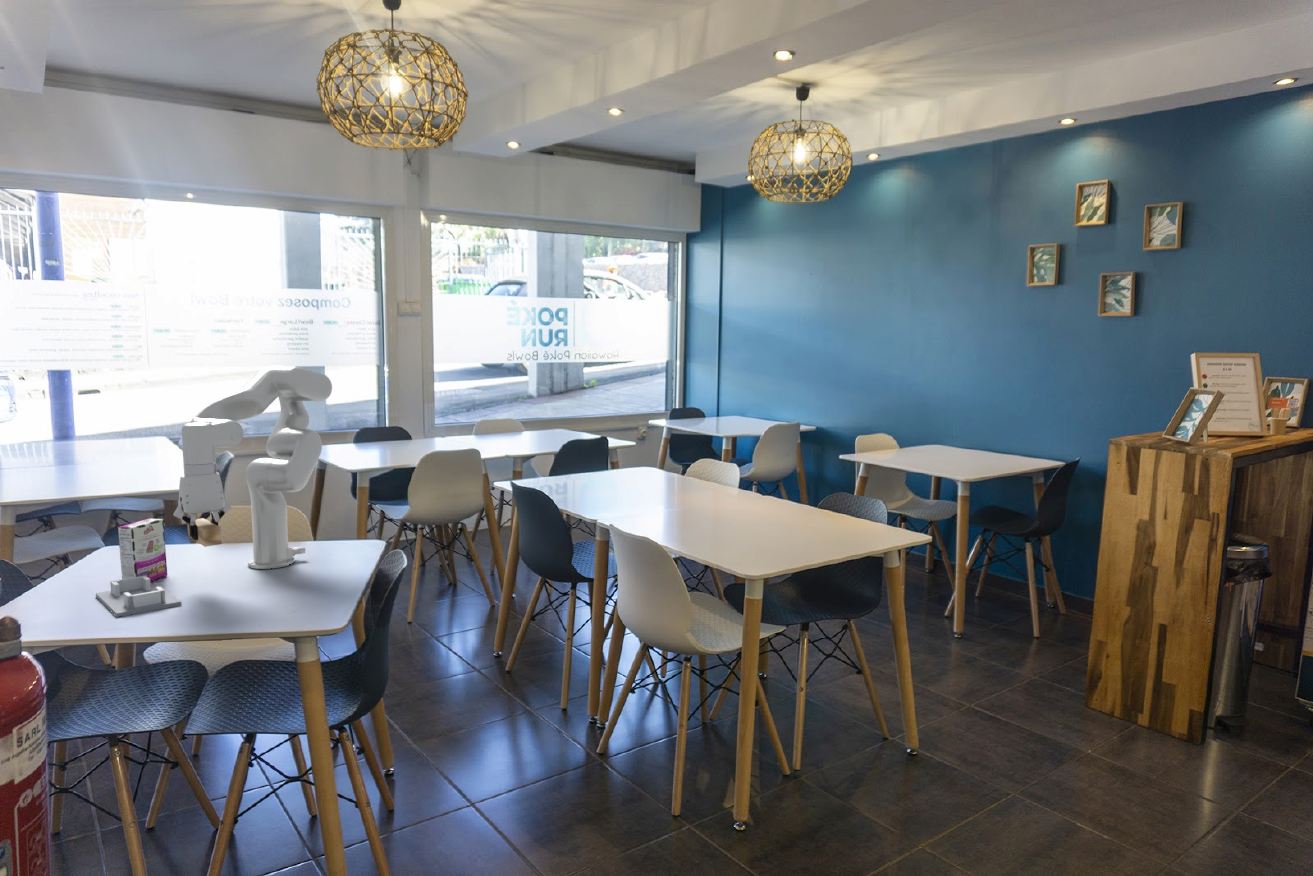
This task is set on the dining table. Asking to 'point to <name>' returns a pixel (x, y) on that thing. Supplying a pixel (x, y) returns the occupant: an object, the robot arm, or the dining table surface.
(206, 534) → the oak block
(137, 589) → the board
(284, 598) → the dining table surface
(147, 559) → the candy bar box
